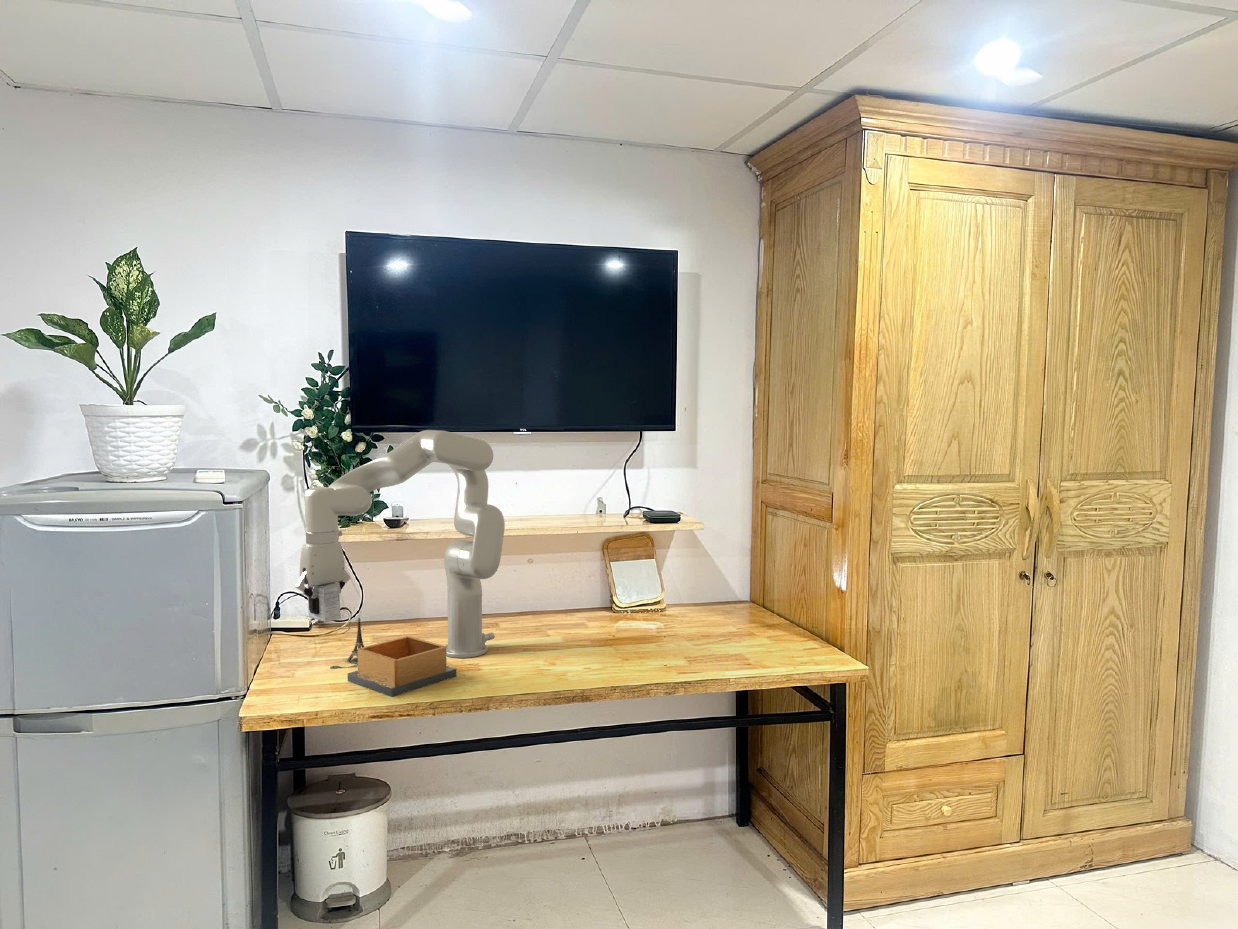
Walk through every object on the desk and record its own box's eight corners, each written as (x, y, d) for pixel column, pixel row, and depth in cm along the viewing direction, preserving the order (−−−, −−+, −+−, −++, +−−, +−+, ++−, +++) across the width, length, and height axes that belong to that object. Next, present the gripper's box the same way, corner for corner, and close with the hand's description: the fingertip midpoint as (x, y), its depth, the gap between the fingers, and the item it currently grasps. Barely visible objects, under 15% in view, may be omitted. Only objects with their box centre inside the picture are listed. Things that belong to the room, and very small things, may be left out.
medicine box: (341, 619, 210) (340, 584, 210) (324, 623, 207) (323, 587, 206) (324, 614, 216) (323, 579, 215) (307, 617, 212) (306, 582, 212)
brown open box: (412, 662, 232) (411, 633, 231) (456, 676, 220) (456, 645, 220) (347, 681, 216) (347, 650, 215) (391, 696, 205) (391, 664, 204)
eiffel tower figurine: (328, 671, 226) (328, 621, 225) (330, 660, 235) (329, 612, 234) (388, 666, 230) (387, 617, 229) (387, 656, 240) (386, 608, 239)
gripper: (343, 532, 219) (345, 602, 220) (281, 541, 206) (284, 615, 207) (361, 535, 214) (363, 607, 216) (298, 544, 201) (301, 621, 202)
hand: (324, 610), depth 211 cm, fingers closed on medicine box, 4 cm apart
